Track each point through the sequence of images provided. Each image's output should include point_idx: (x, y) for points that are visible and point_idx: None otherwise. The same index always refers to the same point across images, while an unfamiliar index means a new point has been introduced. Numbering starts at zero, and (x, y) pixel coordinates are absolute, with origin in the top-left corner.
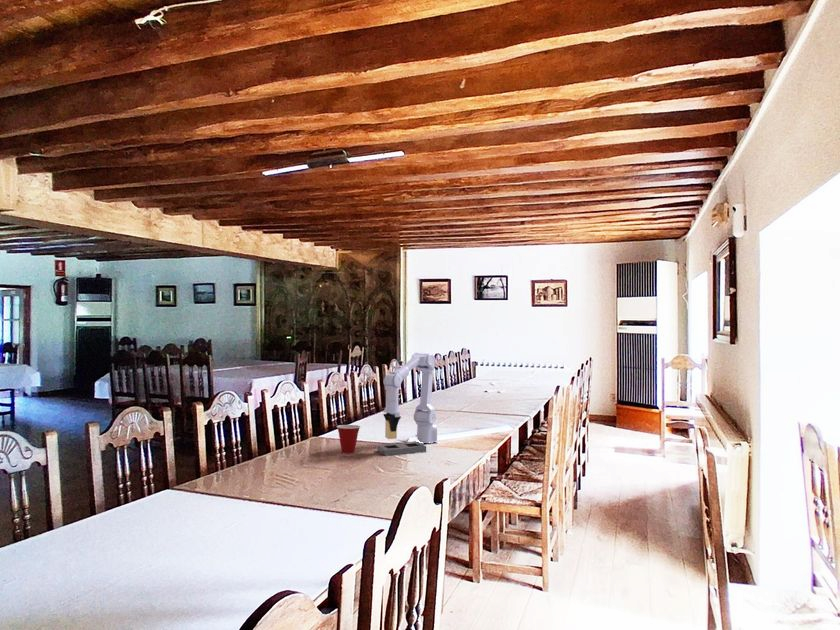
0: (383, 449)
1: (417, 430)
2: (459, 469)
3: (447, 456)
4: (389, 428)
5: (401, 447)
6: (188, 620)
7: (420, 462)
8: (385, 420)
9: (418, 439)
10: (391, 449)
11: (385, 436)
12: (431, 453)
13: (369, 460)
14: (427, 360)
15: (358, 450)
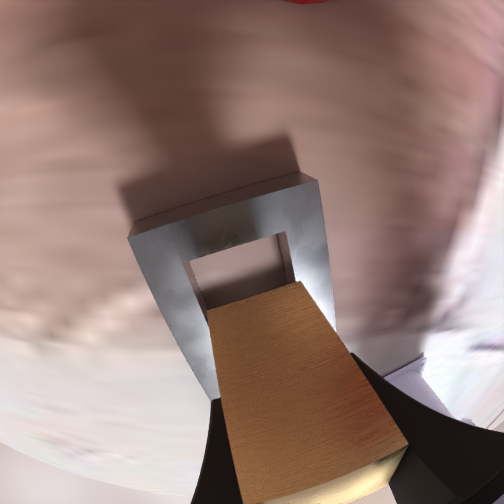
0: (162, 225)
1: (428, 406)
2: (13, 443)
3: (155, 457)
4: (227, 413)
5: None
6: None
7: (37, 384)
8: (400, 436)
9: (398, 385)
10: (153, 288)
11: (298, 287)
12: (201, 429)
13: (19, 117)
14: None
15: (330, 36)
